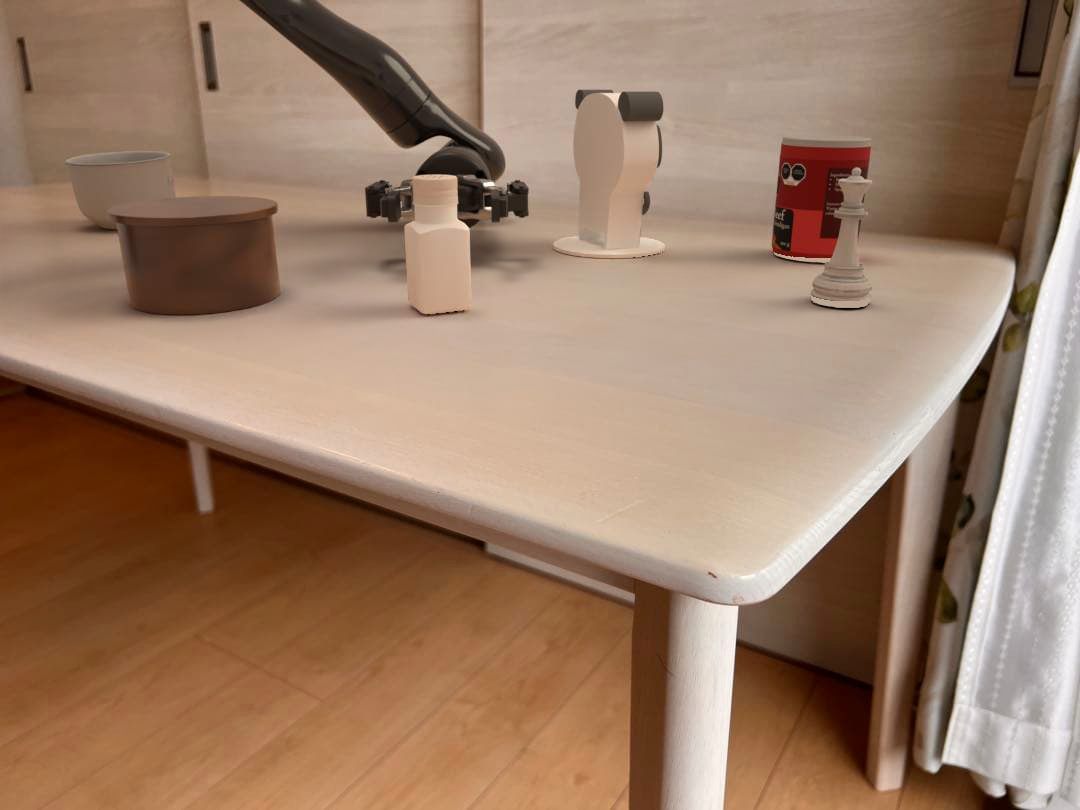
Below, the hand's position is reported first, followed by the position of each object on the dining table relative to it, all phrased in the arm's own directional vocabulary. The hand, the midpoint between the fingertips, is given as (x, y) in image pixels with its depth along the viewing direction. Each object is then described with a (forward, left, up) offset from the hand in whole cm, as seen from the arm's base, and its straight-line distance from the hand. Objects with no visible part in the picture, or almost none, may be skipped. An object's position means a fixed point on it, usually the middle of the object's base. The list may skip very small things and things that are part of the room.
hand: (443, 209), depth 70 cm
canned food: (+31, -18, -6) cm, 36 cm away
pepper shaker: (-7, -7, -6) cm, 11 cm away
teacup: (-6, +50, -6) cm, 51 cm away
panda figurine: (+21, -1, -6) cm, 22 cm away
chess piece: (+15, -28, -6) cm, 32 cm away
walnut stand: (-17, +9, -6) cm, 20 cm away
